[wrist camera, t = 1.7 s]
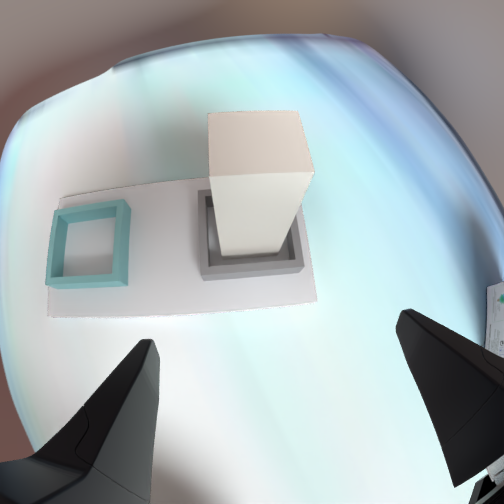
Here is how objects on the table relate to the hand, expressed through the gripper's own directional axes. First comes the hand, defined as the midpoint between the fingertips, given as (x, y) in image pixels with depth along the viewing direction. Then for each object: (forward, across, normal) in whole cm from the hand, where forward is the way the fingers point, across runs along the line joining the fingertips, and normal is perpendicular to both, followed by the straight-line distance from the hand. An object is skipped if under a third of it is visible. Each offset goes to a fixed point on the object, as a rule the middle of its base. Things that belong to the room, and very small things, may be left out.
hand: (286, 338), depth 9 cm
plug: (+15, 0, +3) cm, 15 cm away
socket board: (+15, +7, +3) cm, 17 cm away
